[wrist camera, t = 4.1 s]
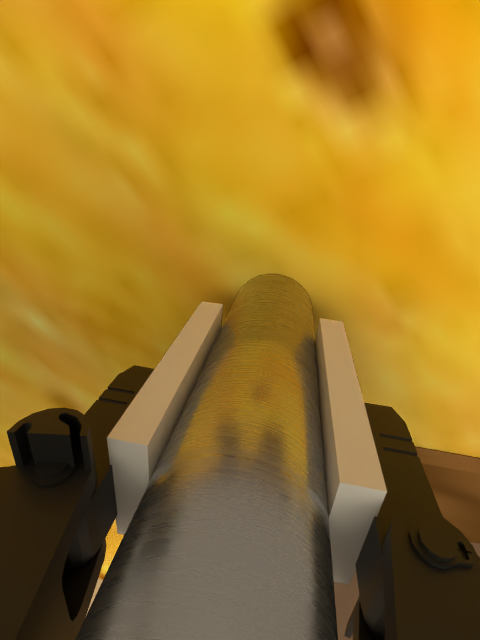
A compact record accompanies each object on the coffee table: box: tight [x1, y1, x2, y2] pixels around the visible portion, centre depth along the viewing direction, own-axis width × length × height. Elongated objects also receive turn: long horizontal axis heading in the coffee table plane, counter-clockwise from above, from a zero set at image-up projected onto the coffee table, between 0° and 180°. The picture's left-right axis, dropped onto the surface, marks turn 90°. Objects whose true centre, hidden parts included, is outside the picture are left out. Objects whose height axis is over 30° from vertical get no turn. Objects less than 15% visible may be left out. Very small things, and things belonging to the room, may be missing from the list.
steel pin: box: [75, 274, 338, 640], centre depth 8 cm, size 3×3×15 cm
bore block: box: [334, 447, 480, 640], centre depth 17 cm, size 16×10×4 cm, turn 85°
